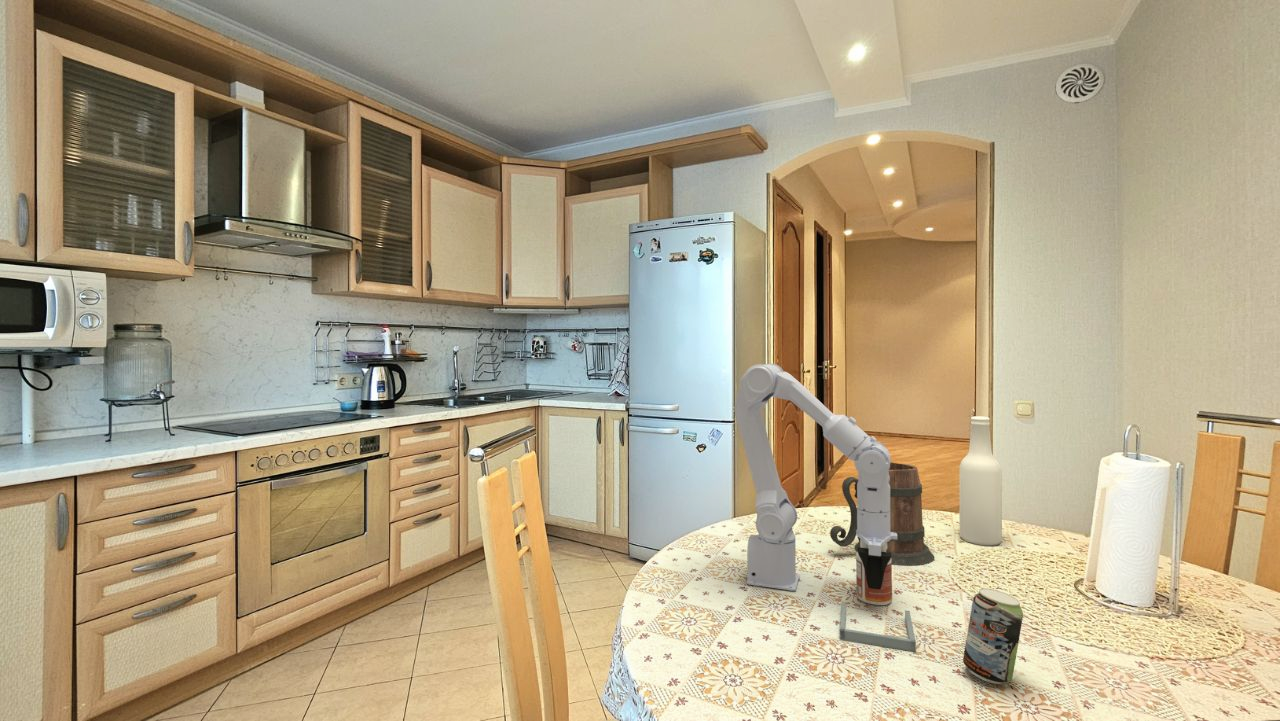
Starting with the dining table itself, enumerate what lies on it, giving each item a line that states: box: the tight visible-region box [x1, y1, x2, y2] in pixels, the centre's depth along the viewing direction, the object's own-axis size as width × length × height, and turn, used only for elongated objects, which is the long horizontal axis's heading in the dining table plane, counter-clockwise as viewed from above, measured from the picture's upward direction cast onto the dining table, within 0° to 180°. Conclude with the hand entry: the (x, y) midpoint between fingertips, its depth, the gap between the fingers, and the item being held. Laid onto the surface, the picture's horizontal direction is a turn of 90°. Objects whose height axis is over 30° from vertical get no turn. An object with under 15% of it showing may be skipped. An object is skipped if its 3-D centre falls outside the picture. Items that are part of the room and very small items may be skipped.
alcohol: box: [958, 415, 1003, 547], centre depth 135 cm, size 9×9×30 cm
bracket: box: [839, 600, 917, 653], centre depth 93 cm, size 11×11×2 cm
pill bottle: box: [855, 539, 893, 606], centre depth 104 cm, size 6×6×11 cm
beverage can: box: [962, 587, 1024, 685], centre depth 79 cm, size 6×7×12 cm
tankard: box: [829, 461, 936, 567], centre depth 127 cm, size 24×17×20 cm
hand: (873, 580), depth 104 cm, fingers closed on pill bottle, 6 cm apart
